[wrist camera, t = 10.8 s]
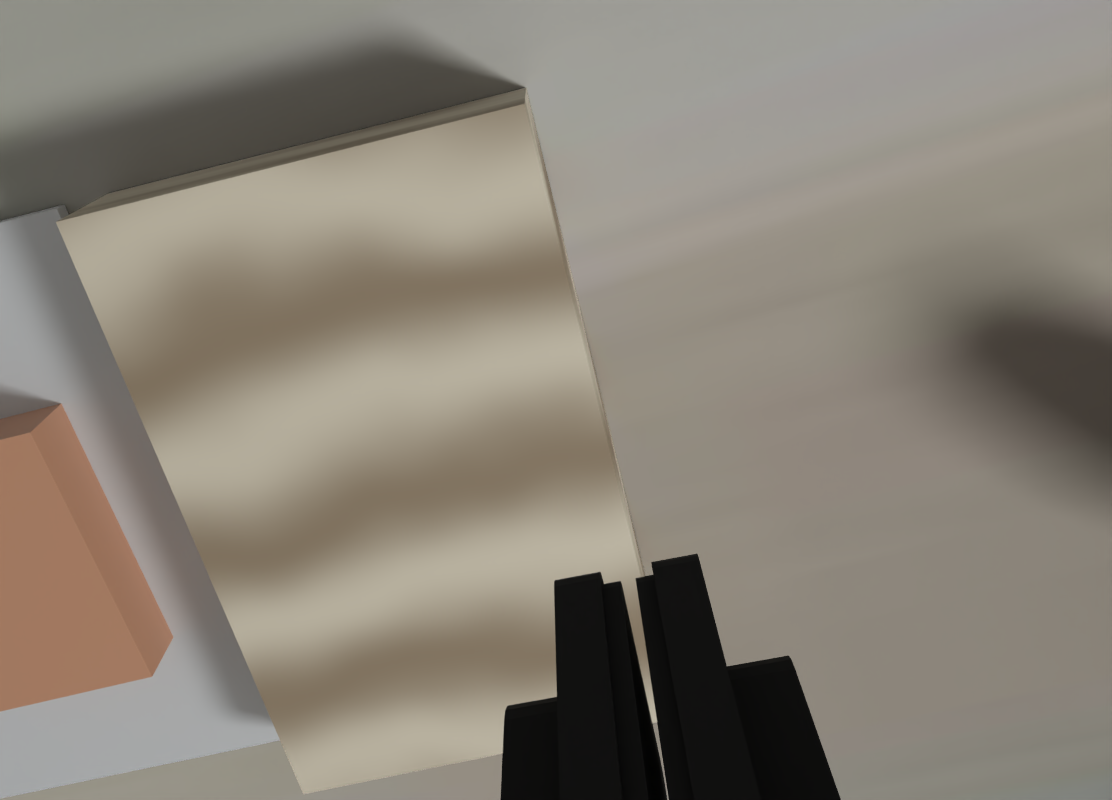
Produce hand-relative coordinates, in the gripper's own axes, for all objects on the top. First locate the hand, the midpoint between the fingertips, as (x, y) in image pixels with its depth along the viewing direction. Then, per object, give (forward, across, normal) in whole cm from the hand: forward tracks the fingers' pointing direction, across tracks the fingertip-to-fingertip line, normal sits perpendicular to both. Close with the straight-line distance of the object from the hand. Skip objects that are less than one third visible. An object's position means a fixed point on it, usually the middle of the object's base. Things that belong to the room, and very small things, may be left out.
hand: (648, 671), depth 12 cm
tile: (+22, +22, +8) cm, 33 cm away
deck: (+24, +8, +8) cm, 27 cm away
